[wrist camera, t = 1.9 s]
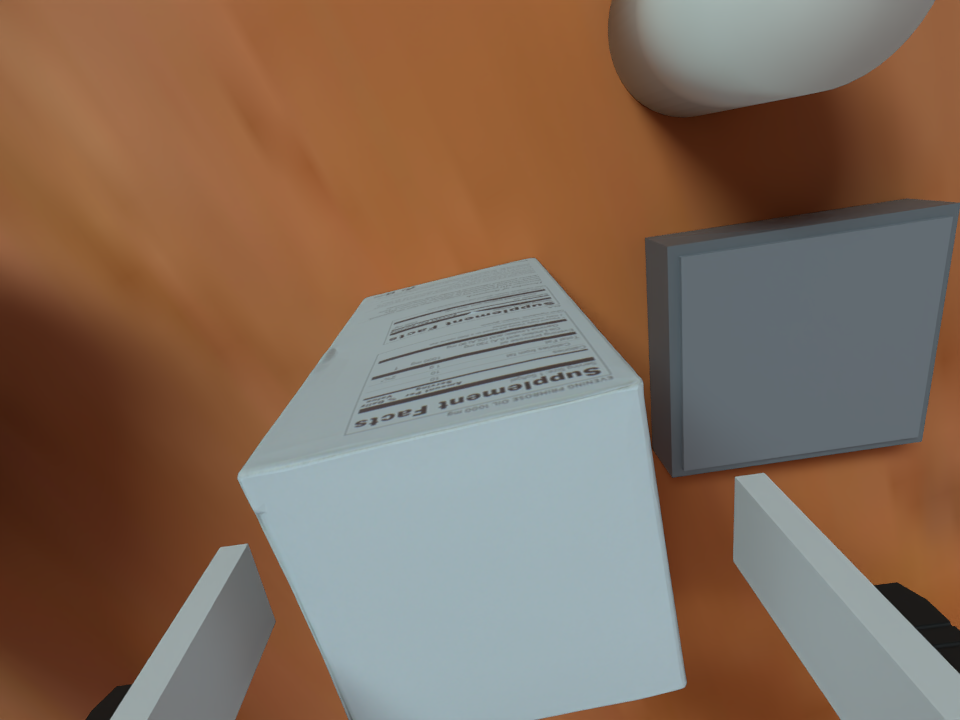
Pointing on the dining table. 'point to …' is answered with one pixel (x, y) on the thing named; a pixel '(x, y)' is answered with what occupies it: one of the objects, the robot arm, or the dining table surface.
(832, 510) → the dining table surface
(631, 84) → the white rounded knob
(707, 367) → the plate
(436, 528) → the supplement box
